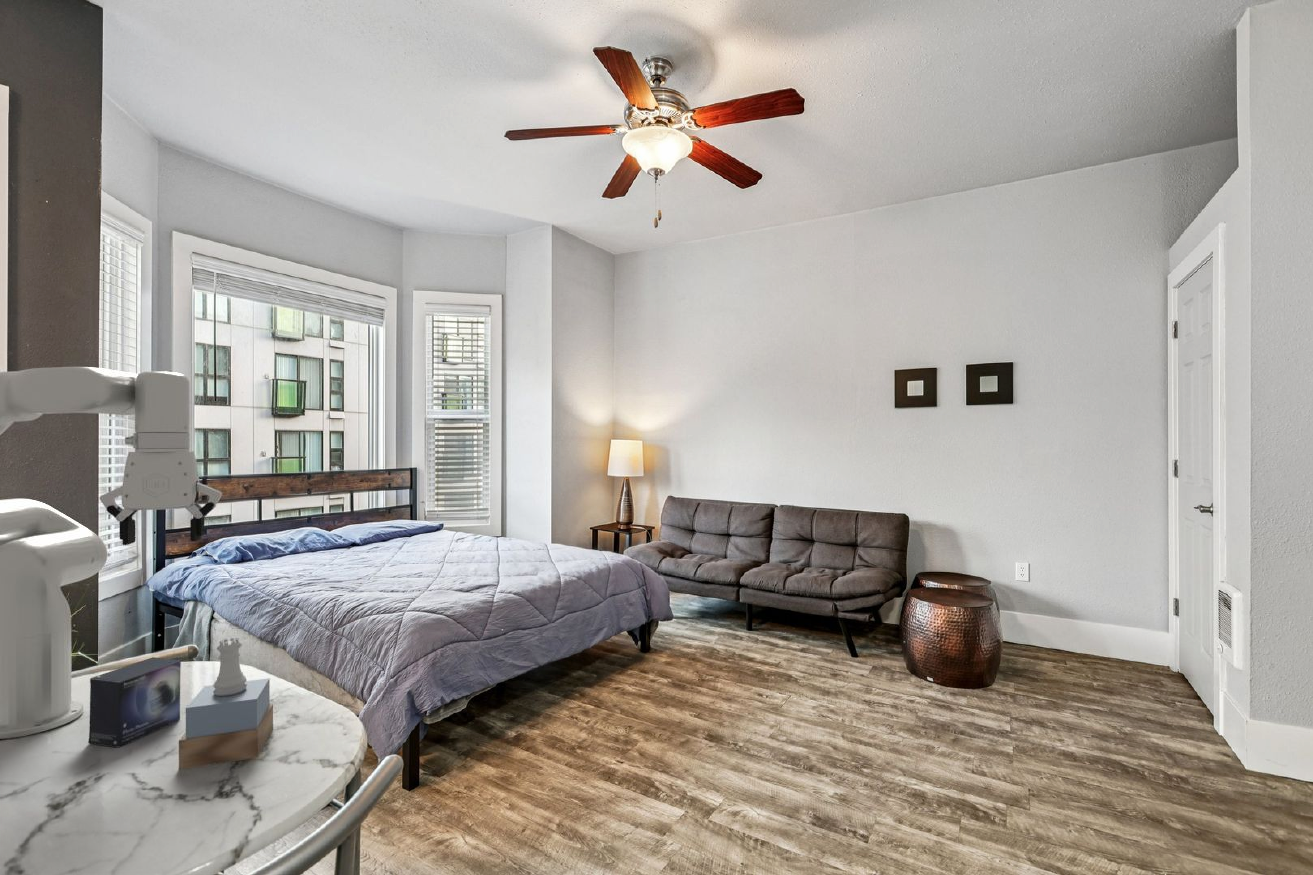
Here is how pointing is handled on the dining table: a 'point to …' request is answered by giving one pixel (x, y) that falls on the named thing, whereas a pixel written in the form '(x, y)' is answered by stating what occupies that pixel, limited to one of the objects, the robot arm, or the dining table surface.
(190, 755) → the walnut block
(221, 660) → the rook chess piece
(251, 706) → the slate-blue block
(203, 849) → the dining table surface
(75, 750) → the dining table surface
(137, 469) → the robot arm
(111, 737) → the small box
